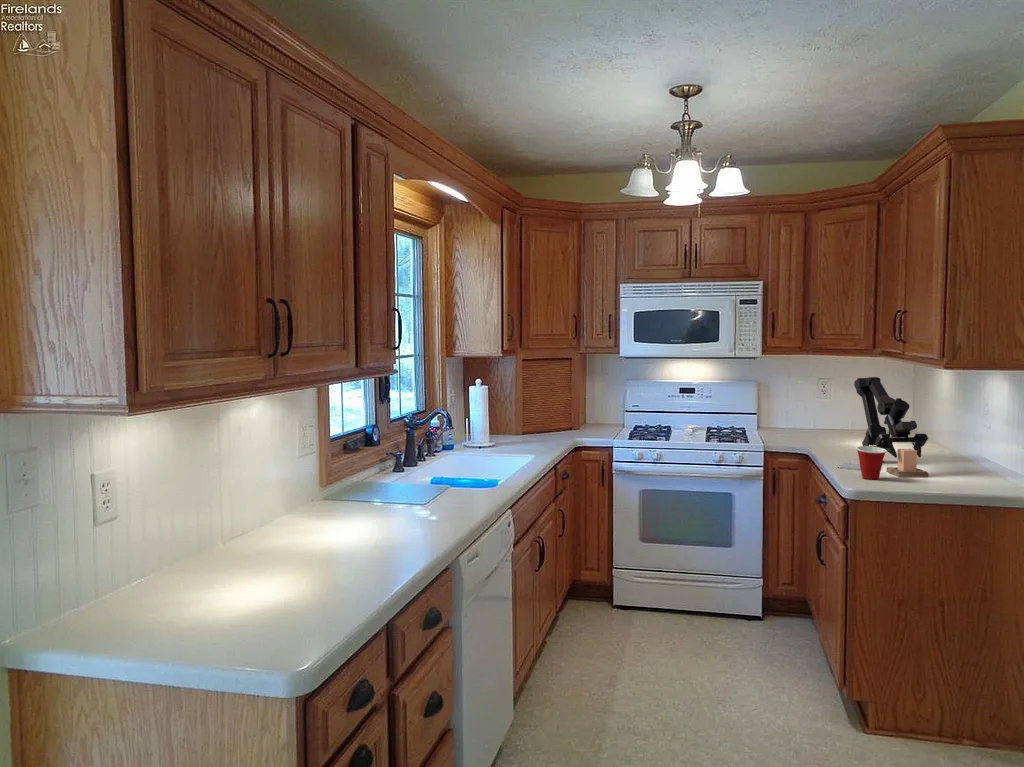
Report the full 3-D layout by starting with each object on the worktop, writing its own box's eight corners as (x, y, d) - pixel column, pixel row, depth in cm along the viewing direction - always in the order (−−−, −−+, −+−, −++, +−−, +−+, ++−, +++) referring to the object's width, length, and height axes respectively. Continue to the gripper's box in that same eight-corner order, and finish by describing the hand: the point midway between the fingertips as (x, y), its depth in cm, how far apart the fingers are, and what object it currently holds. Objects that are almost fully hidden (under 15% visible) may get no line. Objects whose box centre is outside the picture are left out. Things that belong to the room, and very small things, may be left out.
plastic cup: (869, 482, 281) (869, 450, 281) (849, 477, 292) (849, 446, 291) (893, 480, 284) (893, 449, 283) (872, 475, 295) (872, 445, 294)
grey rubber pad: (844, 464, 320) (844, 463, 320) (872, 467, 313) (872, 465, 313) (836, 468, 312) (836, 466, 312) (864, 470, 305) (864, 469, 305)
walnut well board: (886, 472, 301) (886, 467, 301) (914, 472, 300) (914, 467, 300) (899, 477, 290) (899, 472, 290) (928, 477, 289) (928, 472, 289)
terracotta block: (897, 473, 298) (897, 448, 297) (910, 473, 297) (910, 448, 297) (903, 475, 293) (903, 450, 292) (916, 475, 293) (916, 450, 292)
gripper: (878, 413, 299) (890, 444, 288) (926, 413, 298) (940, 444, 287) (870, 431, 307) (881, 461, 297) (916, 430, 306) (929, 461, 296)
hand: (908, 457), depth 294 cm, fingers open, 9 cm apart
